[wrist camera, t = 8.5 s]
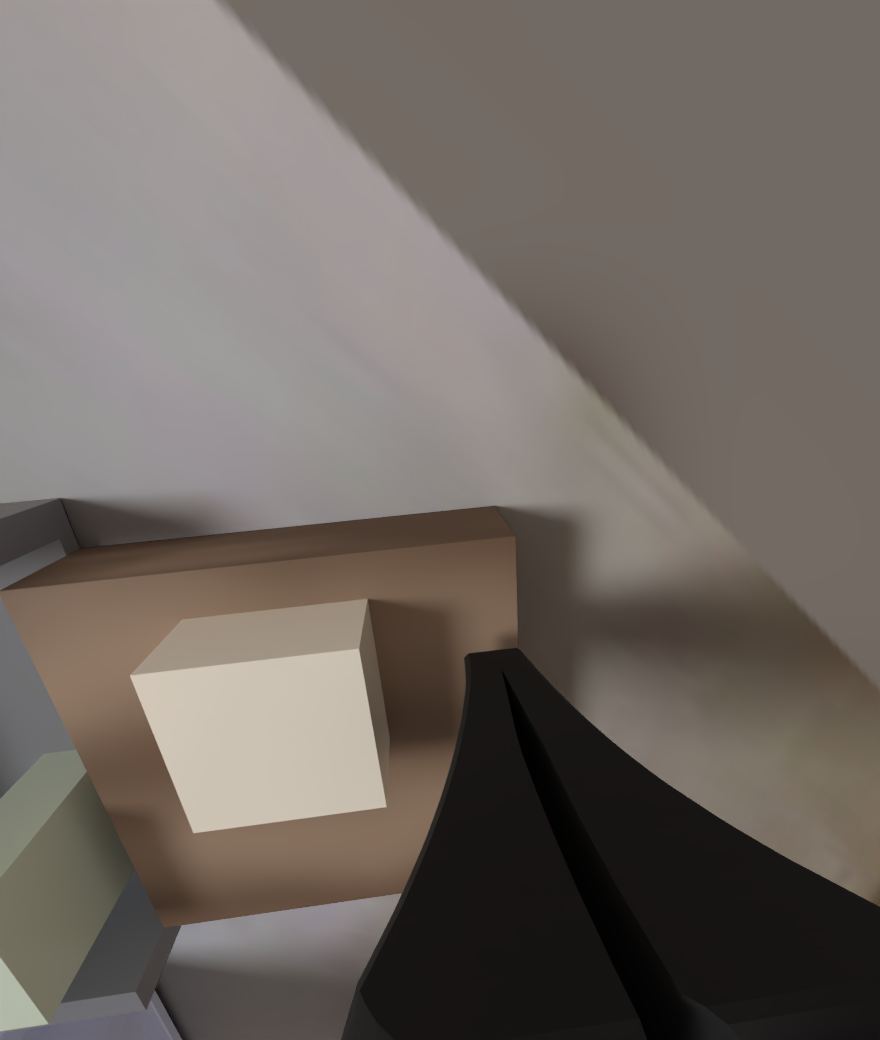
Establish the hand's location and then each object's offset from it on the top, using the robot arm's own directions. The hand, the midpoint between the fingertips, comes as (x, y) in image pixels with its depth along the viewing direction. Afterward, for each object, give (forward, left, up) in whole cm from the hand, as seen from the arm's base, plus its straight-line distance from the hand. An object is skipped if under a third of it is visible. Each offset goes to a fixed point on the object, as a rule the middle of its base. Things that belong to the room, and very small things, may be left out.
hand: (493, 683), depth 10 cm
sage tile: (-5, +12, -1) cm, 13 cm away
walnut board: (-3, +5, -3) cm, 7 cm away
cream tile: (0, +5, -1) cm, 5 cm away
